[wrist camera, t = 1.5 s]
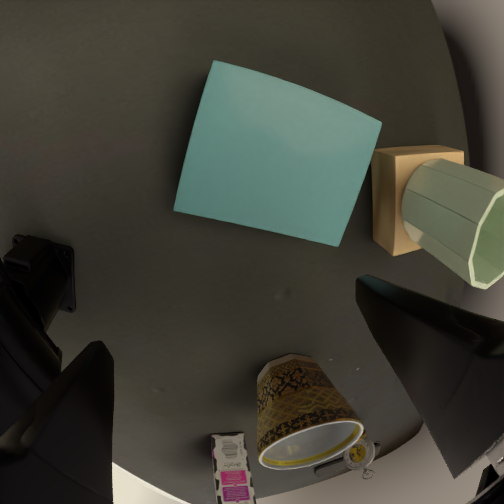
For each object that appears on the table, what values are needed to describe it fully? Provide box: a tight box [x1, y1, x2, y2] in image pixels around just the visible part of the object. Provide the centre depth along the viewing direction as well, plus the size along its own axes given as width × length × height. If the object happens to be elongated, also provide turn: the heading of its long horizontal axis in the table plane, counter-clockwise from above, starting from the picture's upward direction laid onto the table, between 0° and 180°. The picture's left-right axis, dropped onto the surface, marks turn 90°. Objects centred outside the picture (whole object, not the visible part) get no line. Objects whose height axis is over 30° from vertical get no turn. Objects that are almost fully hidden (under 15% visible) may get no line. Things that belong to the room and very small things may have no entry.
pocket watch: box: [343, 437, 375, 480], centre depth 36 cm, size 8×8×10 cm
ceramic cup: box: [257, 354, 366, 469], centre depth 26 cm, size 13×10×10 cm
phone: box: [315, 444, 380, 477], centre depth 48 cm, size 7×1×15 cm
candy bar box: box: [211, 433, 256, 504], centre depth 29 cm, size 11×5×16 cm, turn 177°
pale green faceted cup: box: [401, 158, 504, 289], centre depth 16 cm, size 7×7×8 cm
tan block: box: [371, 145, 464, 256], centre depth 21 cm, size 8×8×4 cm
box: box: [173, 60, 382, 247], centre depth 18 cm, size 9×11×4 cm
